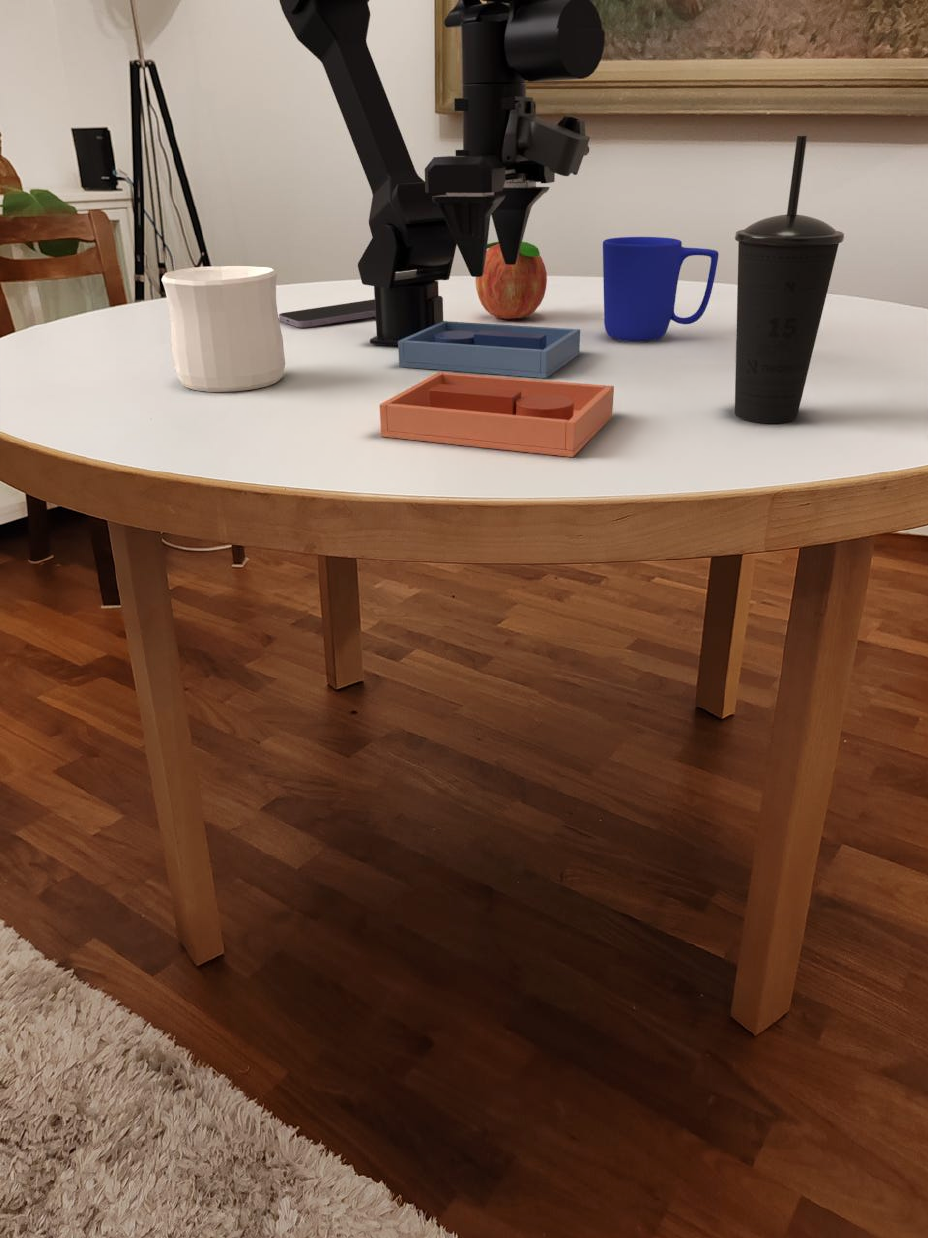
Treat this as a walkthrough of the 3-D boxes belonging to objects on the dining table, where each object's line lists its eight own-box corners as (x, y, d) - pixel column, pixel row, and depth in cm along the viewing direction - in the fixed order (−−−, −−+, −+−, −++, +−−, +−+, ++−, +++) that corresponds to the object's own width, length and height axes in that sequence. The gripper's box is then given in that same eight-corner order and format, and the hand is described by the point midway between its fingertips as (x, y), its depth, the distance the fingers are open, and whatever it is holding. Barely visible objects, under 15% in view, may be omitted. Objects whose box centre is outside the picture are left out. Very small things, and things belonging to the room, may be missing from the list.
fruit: (518, 308, 122) (519, 225, 117) (563, 319, 115) (566, 231, 110) (461, 315, 118) (460, 229, 113) (503, 327, 111) (503, 235, 106)
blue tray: (398, 366, 93) (397, 340, 92) (443, 344, 103) (443, 320, 101) (546, 378, 88) (547, 351, 87) (579, 353, 97) (580, 329, 96)
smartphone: (275, 313, 117) (382, 297, 124) (276, 322, 118) (383, 306, 124) (299, 322, 112) (410, 304, 118) (300, 331, 112) (410, 314, 119)
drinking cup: (703, 404, 79) (731, 136, 70) (792, 401, 80) (831, 134, 71) (734, 430, 72) (769, 136, 63) (831, 426, 73) (880, 134, 64)
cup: (171, 375, 91) (154, 268, 87) (274, 365, 95) (263, 261, 90) (184, 398, 84) (166, 282, 79) (295, 386, 87) (285, 274, 82)
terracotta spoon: (423, 421, 74) (422, 393, 73) (445, 407, 78) (444, 380, 77) (563, 434, 70) (564, 405, 69) (579, 419, 74) (581, 391, 73)
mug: (710, 347, 99) (721, 245, 95) (595, 344, 102) (600, 244, 97) (708, 332, 107) (718, 237, 102) (600, 329, 109) (605, 236, 104)
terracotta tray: (380, 436, 72) (379, 404, 71) (439, 401, 82) (438, 371, 80) (573, 457, 67) (574, 422, 66) (612, 416, 76) (614, 385, 75)
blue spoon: (549, 354, 95) (550, 331, 94) (536, 363, 92) (536, 340, 91) (445, 347, 99) (444, 325, 98) (428, 355, 95) (427, 333, 94)
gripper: (548, 77, 74) (544, 287, 81) (609, 85, 89) (601, 261, 96) (418, 82, 78) (425, 282, 85) (498, 89, 93) (498, 258, 100)
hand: (494, 270), depth 92 cm, fingers open, 9 cm apart
